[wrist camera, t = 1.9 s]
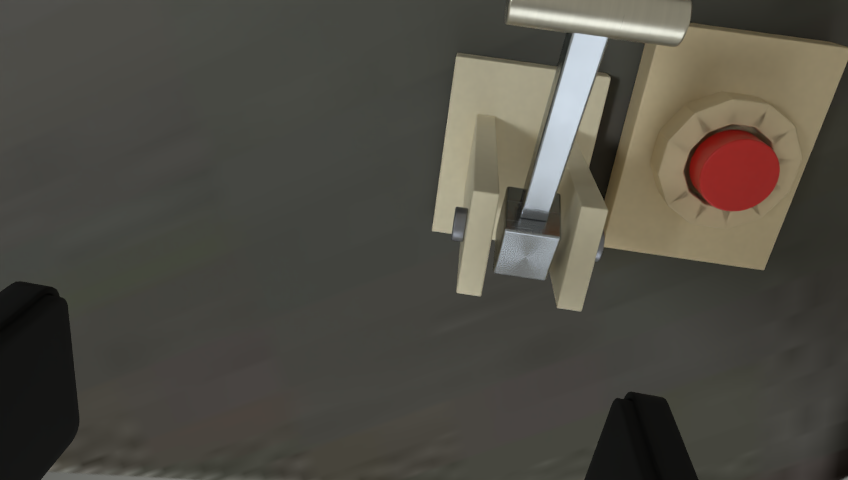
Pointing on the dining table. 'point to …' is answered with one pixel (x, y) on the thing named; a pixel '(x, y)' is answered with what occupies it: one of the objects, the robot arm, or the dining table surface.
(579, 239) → the switch bracket
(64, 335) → the robot arm
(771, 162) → the button
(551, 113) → the switch lever
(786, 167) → the control box
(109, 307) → the dining table surface
